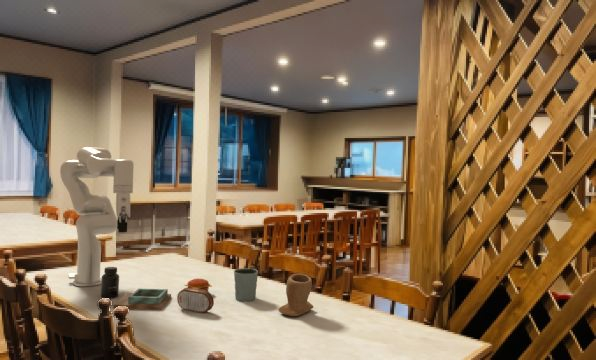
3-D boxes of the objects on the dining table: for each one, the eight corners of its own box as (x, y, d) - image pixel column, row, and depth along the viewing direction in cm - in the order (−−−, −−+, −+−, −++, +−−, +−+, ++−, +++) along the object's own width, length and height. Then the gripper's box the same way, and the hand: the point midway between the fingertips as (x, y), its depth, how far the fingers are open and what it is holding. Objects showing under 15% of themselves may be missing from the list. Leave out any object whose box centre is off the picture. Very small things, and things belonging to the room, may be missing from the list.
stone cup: (299, 321, 159) (300, 281, 158) (274, 314, 166) (275, 275, 165) (321, 311, 171) (322, 273, 171) (297, 305, 178) (298, 269, 178)
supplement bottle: (111, 299, 175) (112, 270, 175) (97, 298, 176) (97, 269, 176) (122, 295, 182) (122, 266, 182) (107, 293, 183) (108, 265, 183)
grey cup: (261, 297, 186) (262, 270, 186) (249, 303, 177) (250, 274, 177) (241, 294, 190) (242, 267, 190) (228, 299, 181) (229, 271, 181)
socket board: (112, 308, 164) (113, 298, 164) (127, 296, 180) (127, 286, 180) (160, 309, 165) (160, 299, 165) (171, 297, 181) (171, 288, 181)
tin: (213, 312, 165) (214, 290, 165) (209, 315, 162) (210, 292, 162) (180, 307, 170) (181, 285, 170) (175, 309, 167) (176, 287, 167)
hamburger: (196, 298, 181) (196, 283, 181) (182, 294, 187) (182, 278, 187) (213, 294, 188) (214, 279, 188) (200, 289, 194) (200, 275, 194)
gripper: (134, 190, 172) (133, 233, 173) (131, 188, 188) (129, 227, 188) (114, 190, 169) (113, 233, 169) (112, 188, 185) (111, 228, 185)
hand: (121, 230), depth 179 cm, fingers open, 9 cm apart
